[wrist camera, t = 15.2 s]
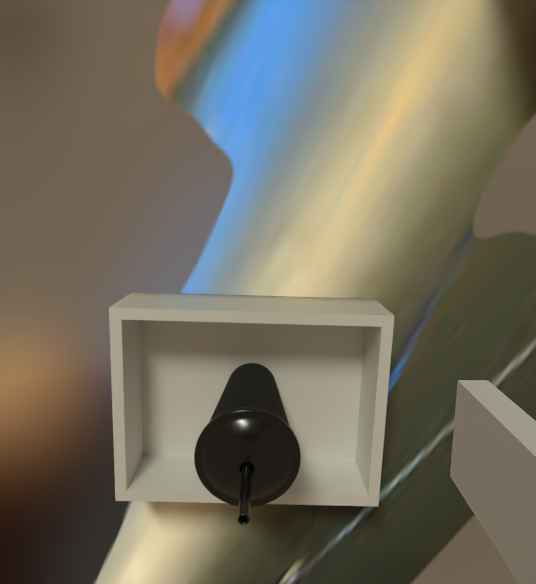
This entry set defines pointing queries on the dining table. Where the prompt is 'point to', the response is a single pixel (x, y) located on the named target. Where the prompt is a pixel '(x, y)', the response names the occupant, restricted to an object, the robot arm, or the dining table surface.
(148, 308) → the box
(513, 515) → the robot arm
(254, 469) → the drinking cup
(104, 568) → the dining table surface
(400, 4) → the dining table surface
